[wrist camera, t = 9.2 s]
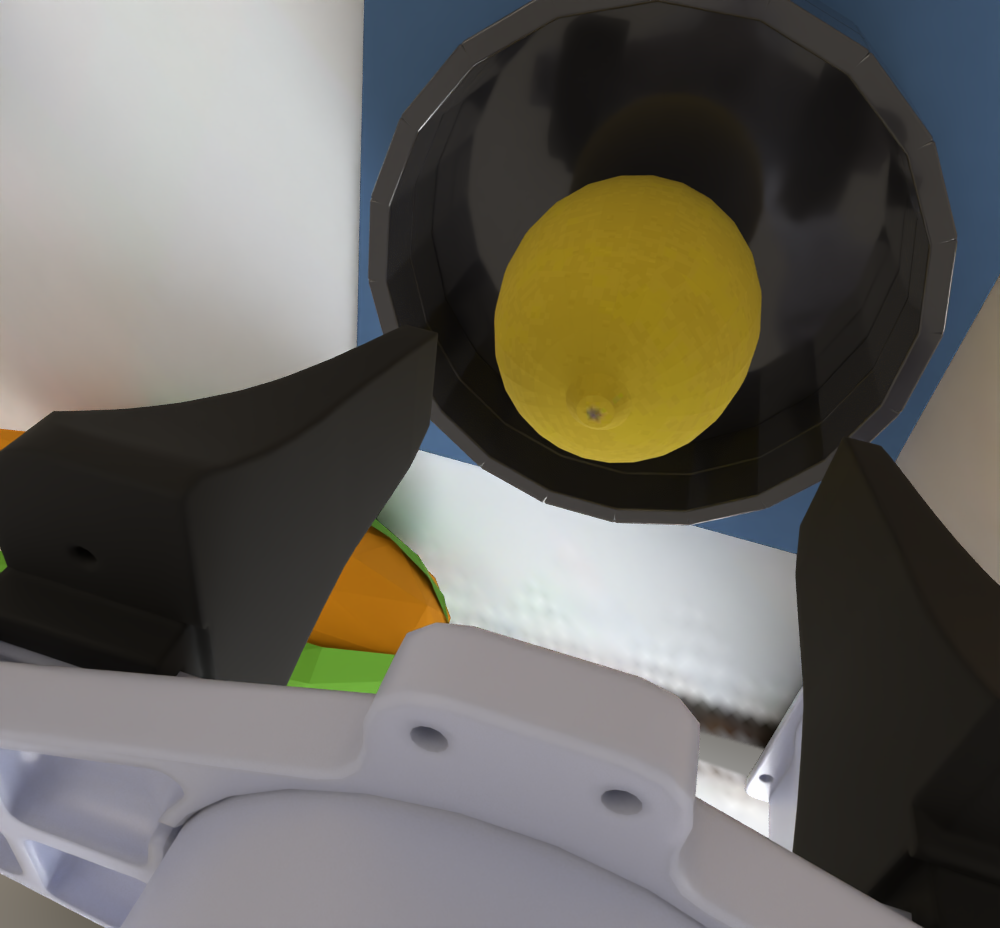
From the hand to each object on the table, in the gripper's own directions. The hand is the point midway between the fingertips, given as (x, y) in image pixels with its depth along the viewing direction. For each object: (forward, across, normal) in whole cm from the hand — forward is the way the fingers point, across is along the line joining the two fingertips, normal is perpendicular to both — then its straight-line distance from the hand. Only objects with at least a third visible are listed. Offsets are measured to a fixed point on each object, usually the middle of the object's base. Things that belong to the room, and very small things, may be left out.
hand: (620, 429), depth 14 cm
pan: (+8, 0, 0) cm, 9 cm away
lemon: (+8, 0, 0) cm, 8 cm away
